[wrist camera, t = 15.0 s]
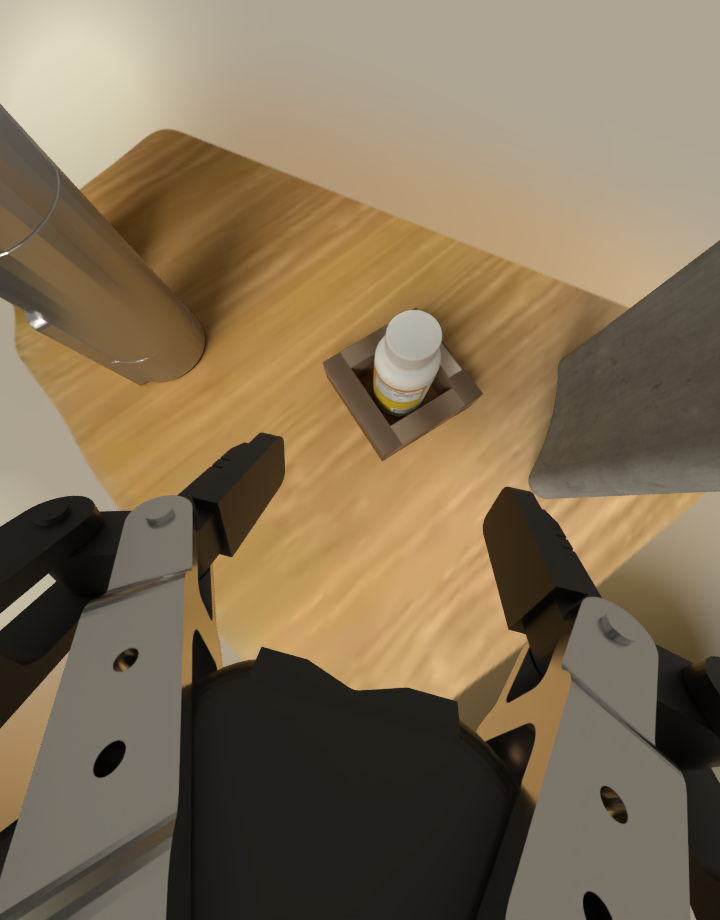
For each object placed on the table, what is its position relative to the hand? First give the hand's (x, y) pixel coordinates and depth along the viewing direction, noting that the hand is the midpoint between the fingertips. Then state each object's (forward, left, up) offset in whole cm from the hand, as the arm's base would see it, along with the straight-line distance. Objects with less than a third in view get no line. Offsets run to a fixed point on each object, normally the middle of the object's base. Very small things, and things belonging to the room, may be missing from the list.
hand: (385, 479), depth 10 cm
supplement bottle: (+8, +8, -17) cm, 20 cm away
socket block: (+8, +8, -16) cm, 20 cm away
